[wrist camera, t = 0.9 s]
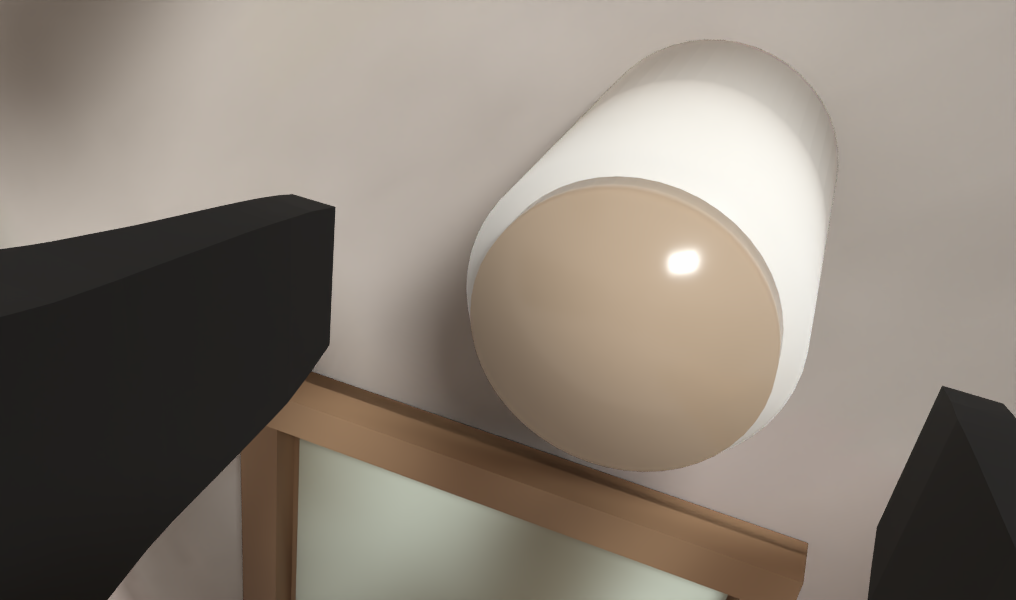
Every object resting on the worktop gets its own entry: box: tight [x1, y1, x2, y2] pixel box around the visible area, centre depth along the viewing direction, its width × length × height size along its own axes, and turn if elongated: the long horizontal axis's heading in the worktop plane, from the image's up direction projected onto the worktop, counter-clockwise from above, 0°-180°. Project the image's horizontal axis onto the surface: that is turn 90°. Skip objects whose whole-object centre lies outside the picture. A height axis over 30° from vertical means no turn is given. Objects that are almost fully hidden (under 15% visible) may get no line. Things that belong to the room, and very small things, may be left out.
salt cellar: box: [466, 40, 838, 472], centre depth 14 cm, size 4×4×7 cm
